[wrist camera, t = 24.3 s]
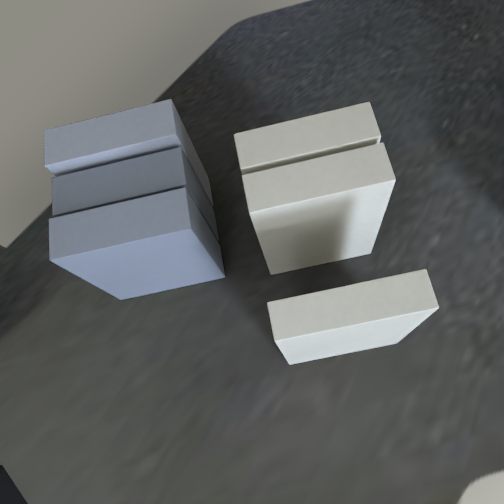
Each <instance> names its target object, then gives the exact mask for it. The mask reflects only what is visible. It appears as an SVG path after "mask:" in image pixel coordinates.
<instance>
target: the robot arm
mask: <svg viewBox="0 0 504 504" xmlns="http://www.w3.org/2000/svg"><path fill="white" fill-rule="evenodd" d="M0 504H27V502H26V501H25V499H24V498H23V496H22V495H21V493H20V492H19V490H18V489H17V487H16V485H15V484H14V482H13V481H12V479H11V478H10V476H9V475H8V473H7V472H6V470H5V469H4V467H3V466H2V465H0Z"/></svg>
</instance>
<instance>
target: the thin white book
mask: <svg viewBox="0 0 504 504" xmlns="http://www.w3.org/2000/svg"><path fill="white" fill-rule="evenodd" d="M267 306H268V311H269V316H270V321H271V326H272V331H273V337H274V341H275V343H276V344H277V346H278V347H279V349H280V351H281V352H282V354H283V355H284V357H285V359H286V360H287V362H288V363H289V365H291V364H296V363H301V362H306V361H311V360H316V359H321V358H326V357H331V356H336V355H341V354H346V353H351V352H356V351H361V350H366V349H371V348H376V347H381V346H386V345H391V344H396V343H398V342H399V341H400V340H401V339H403V338H404V337H405V336H406V335H407V334H409V333H410V332H411V331H412V330H413V329H414V328H416V327H417V326H418V325H419V324H420V323H422V322H423V321H424V320H425V319H426V318H428V317H429V316H430V315H431V314H432V313H433V312H435V311H436V310H437V309H438V308H439V306H438V303H437V300H436V297H435V294H434V291H433V288H432V285H431V282H430V279H429V276H428V273H427V270H426V269H423V270H418V271H414V272H409V273H404V274H399V275H395V276H390V277H385V278H380V279H375V280H371V281H366V282H361V283H356V284H352V285H347V286H342V287H337V288H333V289H328V290H323V291H318V292H314V293H309V294H304V295H299V296H295V297H290V298H285V299H280V300H276V301H271V302H267Z"/></svg>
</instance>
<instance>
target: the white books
mask: <svg viewBox="0 0 504 504" xmlns="http://www.w3.org/2000/svg"><path fill="white" fill-rule="evenodd" d="M380 138H381V134H380V131H379V128H378V125H377V122H376V119H375V116H374V113H373V110H372V107H371V104H370V102H366V103H362V104H358V105H353V106H349V107H345V108H341V109H337V110H332V111H328V112H324V113H320V114H316V115H311V116H307V117H303V118H299V119H295V120H290V121H286V122H282V123H278V124H274V125H269V126H265V127H261V128H257V129H253V130H248V131H244V132H240V133H236V134H234V139H235V144H236V149H237V154H238V159H239V164H240V169H241V172H242V180H243V185H244V190H245V195H246V200H247V205H248V210H249V214H250V217H251V220H252V223H253V226H254V229H255V231H256V234H257V237H258V240H259V243H260V246H261V249H262V251H263V254H264V257H265V260H266V263H267V266H268V269H269V271H270V274H271V275H273V274H278V273H283V272H287V271H292V270H297V269H301V268H306V267H311V266H315V265H320V264H324V263H329V262H334V261H338V260H343V259H348V258H352V257H357V256H362V255H366V254H371V251H372V248H373V245H374V242H375V240H376V237H377V234H378V231H379V228H380V225H381V222H382V219H383V216H384V213H385V210H386V207H387V204H388V201H389V198H390V196H391V193H392V190H393V187H394V184H395V181H396V179H395V176H394V173H393V170H392V167H391V164H390V161H389V158H388V155H387V152H386V149H385V146H384V143H380Z"/></svg>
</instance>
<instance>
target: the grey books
mask: <svg viewBox="0 0 504 504" xmlns="http://www.w3.org/2000/svg"><path fill="white" fill-rule="evenodd" d="M44 166H45V167H46V168H47V169H48V170H49V171H51V172H52V173H53V174H54V175H55V176H56V177H53V178H52V215H53V216H54V217H55V218H51V219H49V255H50V261H52V262H53V263H55V264H57V265H59V266H61V267H62V268H64V269H66V270H68V271H70V272H71V273H73V274H75V275H77V276H79V277H80V278H82V279H84V280H86V281H88V282H89V283H91V284H93V285H95V286H97V287H98V288H100V289H102V290H104V291H106V292H107V293H109V294H111V295H113V296H115V297H116V298H118V299H120V300H123V299H128V298H133V297H137V296H142V295H147V294H151V293H156V292H160V291H165V290H170V289H174V288H179V287H184V286H188V285H193V284H197V283H202V282H207V281H211V280H216V279H221V278H225V272H224V266H223V260H222V254H221V248H220V245H219V243H218V242H217V241H219V236H218V230H217V224H216V218H215V212H214V210H213V208H212V207H213V200H212V194H211V188H210V182H209V178H208V176H207V174H206V172H205V169H204V167H203V165H202V163H201V161H200V159H199V157H198V155H197V153H196V150H195V148H194V146H193V144H192V142H191V140H190V138H189V136H188V133H187V131H186V129H185V127H184V125H183V123H182V121H181V119H180V116H179V114H178V112H177V110H176V108H175V106H174V104H173V102H172V100H171V99H169V100H165V101H161V102H157V103H152V104H148V105H144V106H140V107H136V108H132V109H128V110H124V111H120V112H116V113H112V114H108V115H104V116H100V117H96V118H92V119H88V120H83V121H80V122H76V123H71V124H68V125H63V126H59V127H55V128H51V129H47V130H44Z"/></svg>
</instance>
